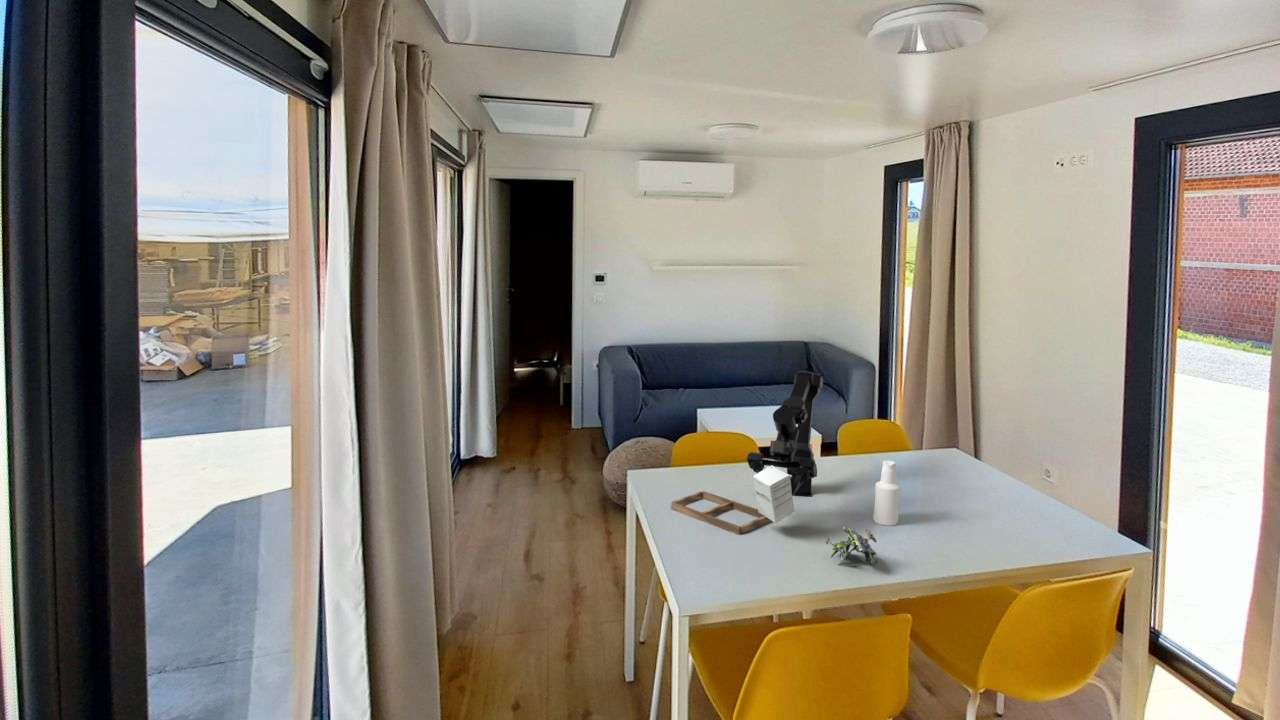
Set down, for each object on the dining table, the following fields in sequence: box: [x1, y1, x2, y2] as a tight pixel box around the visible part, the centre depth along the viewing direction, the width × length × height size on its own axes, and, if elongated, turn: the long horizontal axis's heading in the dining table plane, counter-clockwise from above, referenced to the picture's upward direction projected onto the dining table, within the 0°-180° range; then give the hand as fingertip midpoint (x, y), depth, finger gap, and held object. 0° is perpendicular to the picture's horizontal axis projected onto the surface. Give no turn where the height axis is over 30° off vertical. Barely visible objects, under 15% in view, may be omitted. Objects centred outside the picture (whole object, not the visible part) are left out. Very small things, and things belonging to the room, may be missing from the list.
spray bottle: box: [872, 459, 901, 527], centre depth 198 cm, size 7×7×18 cm
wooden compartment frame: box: [670, 490, 771, 535], centre depth 204 cm, size 15×27×2 cm, turn 43°
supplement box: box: [752, 465, 795, 524], centre depth 189 cm, size 7×7×13 cm
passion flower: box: [825, 526, 879, 567], centre depth 172 cm, size 11×11×12 cm
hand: (775, 491), depth 189 cm, fingers closed on supplement box, 9 cm apart
